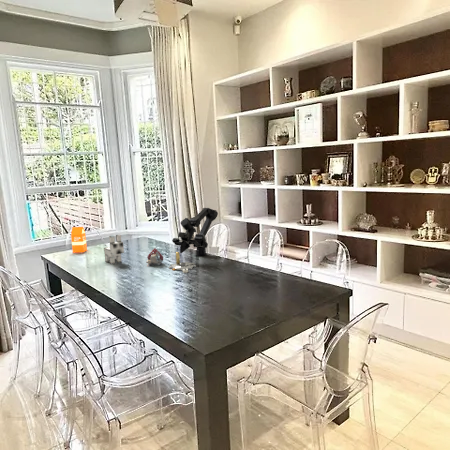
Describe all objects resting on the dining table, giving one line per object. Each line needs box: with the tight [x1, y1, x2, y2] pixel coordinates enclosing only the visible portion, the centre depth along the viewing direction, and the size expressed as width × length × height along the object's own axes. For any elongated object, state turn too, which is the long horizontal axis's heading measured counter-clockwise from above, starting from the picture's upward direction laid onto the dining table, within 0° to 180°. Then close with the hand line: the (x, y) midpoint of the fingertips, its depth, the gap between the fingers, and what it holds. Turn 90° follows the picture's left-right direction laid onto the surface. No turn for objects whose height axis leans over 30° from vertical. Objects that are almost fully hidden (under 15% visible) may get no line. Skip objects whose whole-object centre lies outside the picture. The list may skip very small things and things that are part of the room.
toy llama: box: [103, 233, 125, 265], centre depth 275 cm, size 8×18×20 cm, turn 42°
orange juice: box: [70, 226, 88, 254], centre depth 313 cm, size 8×9×20 cm
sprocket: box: [168, 251, 197, 271], centre depth 257 cm, size 18×18×9 cm
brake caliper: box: [146, 248, 164, 267], centre depth 265 cm, size 11×11×12 cm
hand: (180, 252), depth 264 cm, fingers closed
